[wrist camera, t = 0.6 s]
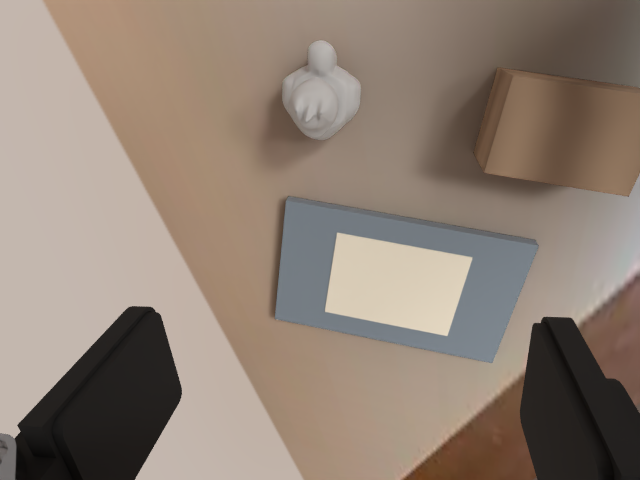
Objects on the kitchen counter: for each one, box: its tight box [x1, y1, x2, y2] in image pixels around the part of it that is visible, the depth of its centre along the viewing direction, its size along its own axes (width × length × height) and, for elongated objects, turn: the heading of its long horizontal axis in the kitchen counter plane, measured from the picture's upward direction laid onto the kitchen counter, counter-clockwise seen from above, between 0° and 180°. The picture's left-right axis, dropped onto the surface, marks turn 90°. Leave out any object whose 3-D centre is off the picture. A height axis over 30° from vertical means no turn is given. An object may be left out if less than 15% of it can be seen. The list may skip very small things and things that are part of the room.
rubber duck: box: [282, 40, 361, 140], centre depth 29 cm, size 5×7×8 cm
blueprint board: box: [275, 196, 539, 363], centre depth 39 cm, size 20×12×1 cm, turn 83°
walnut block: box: [473, 68, 640, 197], centre depth 30 cm, size 9×6×5 cm, turn 83°
